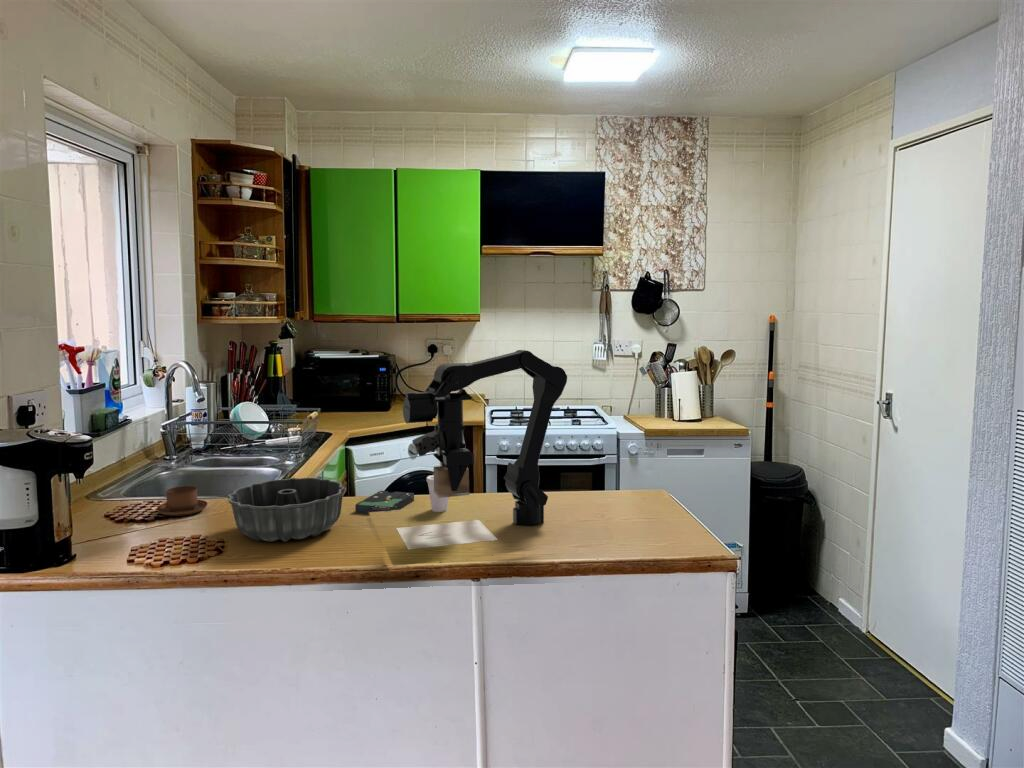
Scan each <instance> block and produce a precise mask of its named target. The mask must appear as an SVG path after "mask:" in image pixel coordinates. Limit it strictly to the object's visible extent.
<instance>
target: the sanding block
mask: <svg viewBox="0 0 1024 768" xmlns="http://www.w3.org/2000/svg"><path fill="white" fill-rule="evenodd" d="M469 470H470V469H469V468H468V467H467V469H466V471H465V473H464V475H463V478H462V480H461V482H460V485H459V487H458V489H457V491H452V489H451V484H450V478H449V473H448V469H447V467H445V466H440V465H438V466H433V475H434V493H435V494H436V495H437V497H438V498H443V497H449V498H452V497H453V498H454V497H462V496H463V497H465V496H470V473H469V472H470V471H469Z"/></svg>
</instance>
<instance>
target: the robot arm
mask: <svg viewBox="0 0 1024 768" xmlns="http://www.w3.org/2000/svg"><path fill="white" fill-rule="evenodd" d="M520 369H521V370H522V371H524V373H525V374H527V376H529V377H531V378H532V393H533V394H532V395H533V403H532V407H531V410H530V414H529V419H528V421H527V426H526V429H525V433H524V437H523V441H522V445H521V448H520V452H519V456H518V458H517V459H516V460H515V462H514V463H511V462H508V464H507V468H506V473H505V475H504V476H503V479H504V480H505V483H504V484H505V487H506V489H507V491H508V492H509V493H510V494H511V496H512V498H513V499H514V500H515V501H514V506H515V507H513V508H512V523H513V524H514V525H515V526H519V527H522V526H523V527H534V526H535V527H536V526H540V525H541V524H545V523H544V522H545V506H546V505H547V502H548V499H549V496H548V495H547V494H546V493H545V492H544V491H543V490H541V489H540V487H539V486H540V479H541V478H540V470H539V469H540V468H539V460H540V455H541V453H542V449H543V445H544V441H545V438H546V433H547V430H548V426H549V422H550V419H551V416H552V412H553V409H554V408H553V407H554V406H555V403H556V402H557V401H558V400H559V398H561V396H562V394H563V391H564V389H565V387H566V385H567V382H568V374H567V373H566V371H565V370H564V369H563V368H562V367H560V366H556V365H552V364H551V363H549V362H547V361H545V360H543V359H541V358H539V357H538V356H536V355H535V354H534V353H532V352H531V351H530V350H525V349H518V350H515V351H514V352H510V353H506V354H501V355H497V356H494V357H489V358H485V359H483V360H482V359H481V360H478V361H475V362H474V361H473V362H457V363H443V364H441V365H438V366H437V367H436V369H435V371H434V373H433V378H432V380H431V382H430V383H429V385H428V386H427V388H426V389H425V391H422V392H414V391H413V392H410V391H407V392H406V393H405V398H404V400H403V405H402V414H403V415H402V417H403V420H404V422H405V423H406V424H419V423H420V424H421V423H430V422H433V421H434V419H437V423H435V425H434V430H433V431H431V432H427V433H425V434H423V435H421V436H418V437H416V438H414V439H412V440H411V442H412V444H413V446H414V450H415V452H416V454H417V455H418V456H419V457H422V456H426V455H427V454H428V453H429V452H431V453H433V454H432V455H433V456H434V458H436V459H437V460H438V461H439V464H440V463H441V466H445V467H447V469H448V473H449V478H450V484H451V489H452V491H457V489H458V487H459V485H460V482H461V480H462V478H463V475H464V473H465V471H466V469H467V468H468V467H469V465H473V464H475V454H474V453H473V452H471V450H469V449H468V448H466V443H465V442H464V431H466V424H464V408H463V407H464V403H463V401H469V400H472V399H473V397H472V396H471V395H470V394H468V393H467V391H466V389H465V388H467V387H469V386H471V385H472V384H474V383H475V382H477V381H479V380H481V379H482V380H483V379H486V378H489V377H493V376H496V375H497V376H498V375H501V374H504V373H508V372H513V371H515V370H520ZM435 451H436V453H435Z"/></svg>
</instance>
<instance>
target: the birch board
mask: <svg viewBox="0 0 1024 768" xmlns="http://www.w3.org/2000/svg"><path fill="white" fill-rule="evenodd" d="M396 530H397V532H398V533H399V536H400V538H401V539H402V541H403V543H404V545H405V546H406V548H407V550H408V551H409V550H415V549H425V548H436V547H445V546H455V545H462V544H463V545H465V544H474V543H481V542H492V541H498V538H497V537H496V536H495V535H494V534H493V533H492V532H491V531H490V530H489V529H488V528H487V527H486V526H485V525H484V524H483V523H482V522H481V521H480V520H479V519H475V520H474V519H473V520H466V521H455V522H454V521H452V522H445V523H443V522H442V523H435V524H426V525H425V524H424V525H423V524H422V525H415V526H414V525H413V526H405V527H404V526H402V527H396Z"/></svg>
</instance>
